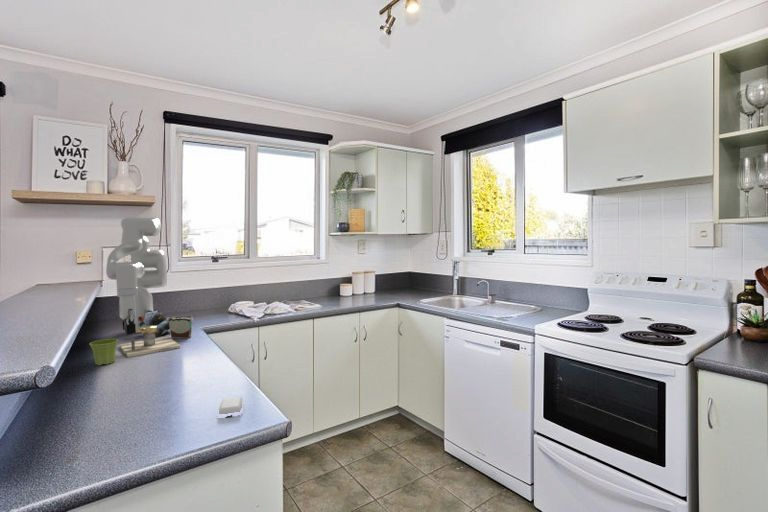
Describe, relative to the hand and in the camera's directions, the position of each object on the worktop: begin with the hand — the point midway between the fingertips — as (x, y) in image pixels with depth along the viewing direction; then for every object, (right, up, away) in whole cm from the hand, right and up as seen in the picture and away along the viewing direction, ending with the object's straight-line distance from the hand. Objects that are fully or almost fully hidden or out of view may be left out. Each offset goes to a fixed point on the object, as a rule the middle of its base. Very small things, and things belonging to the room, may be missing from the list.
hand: (129, 331), depth 176 cm
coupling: (+3, -1, +3) cm, 5 cm away
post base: (+6, -8, +5) cm, 11 cm away
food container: (+11, -7, +25) cm, 28 cm away
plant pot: (+1, -10, -16) cm, 19 cm away
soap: (+67, -12, -61) cm, 91 cm away
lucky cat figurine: (-5, -7, +31) cm, 32 cm away
